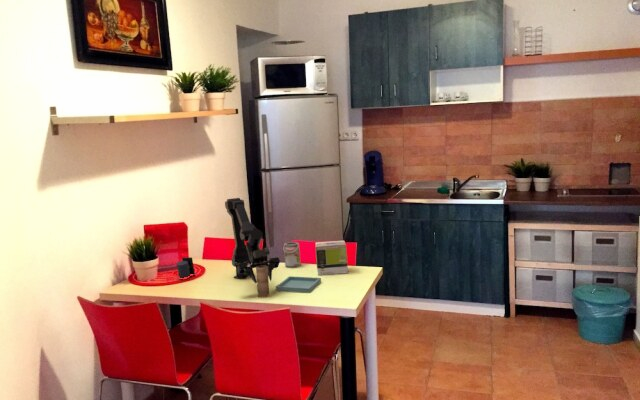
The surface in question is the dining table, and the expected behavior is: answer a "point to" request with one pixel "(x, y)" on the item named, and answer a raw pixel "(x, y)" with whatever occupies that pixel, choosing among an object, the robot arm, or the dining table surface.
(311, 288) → the tray
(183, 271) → the speaker
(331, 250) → the tea box
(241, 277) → the robot arm
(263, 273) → the pepper mill
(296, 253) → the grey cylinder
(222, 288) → the dining table surface
